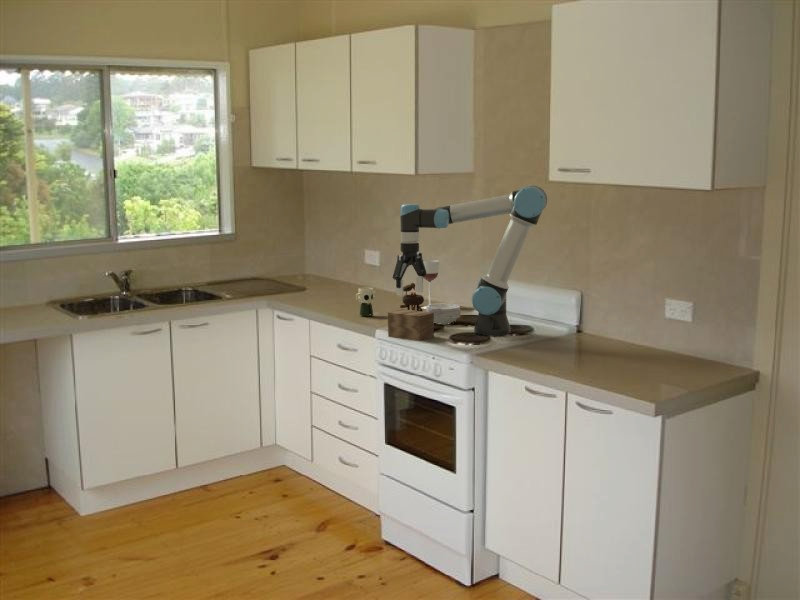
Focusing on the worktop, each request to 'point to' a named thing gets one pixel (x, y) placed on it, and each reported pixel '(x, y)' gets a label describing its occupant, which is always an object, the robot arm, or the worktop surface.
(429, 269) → the wineglass
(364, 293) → the character mug
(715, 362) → the worktop surface
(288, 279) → the worktop surface
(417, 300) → the music box
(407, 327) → the brown wooden block
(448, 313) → the paper bowls
